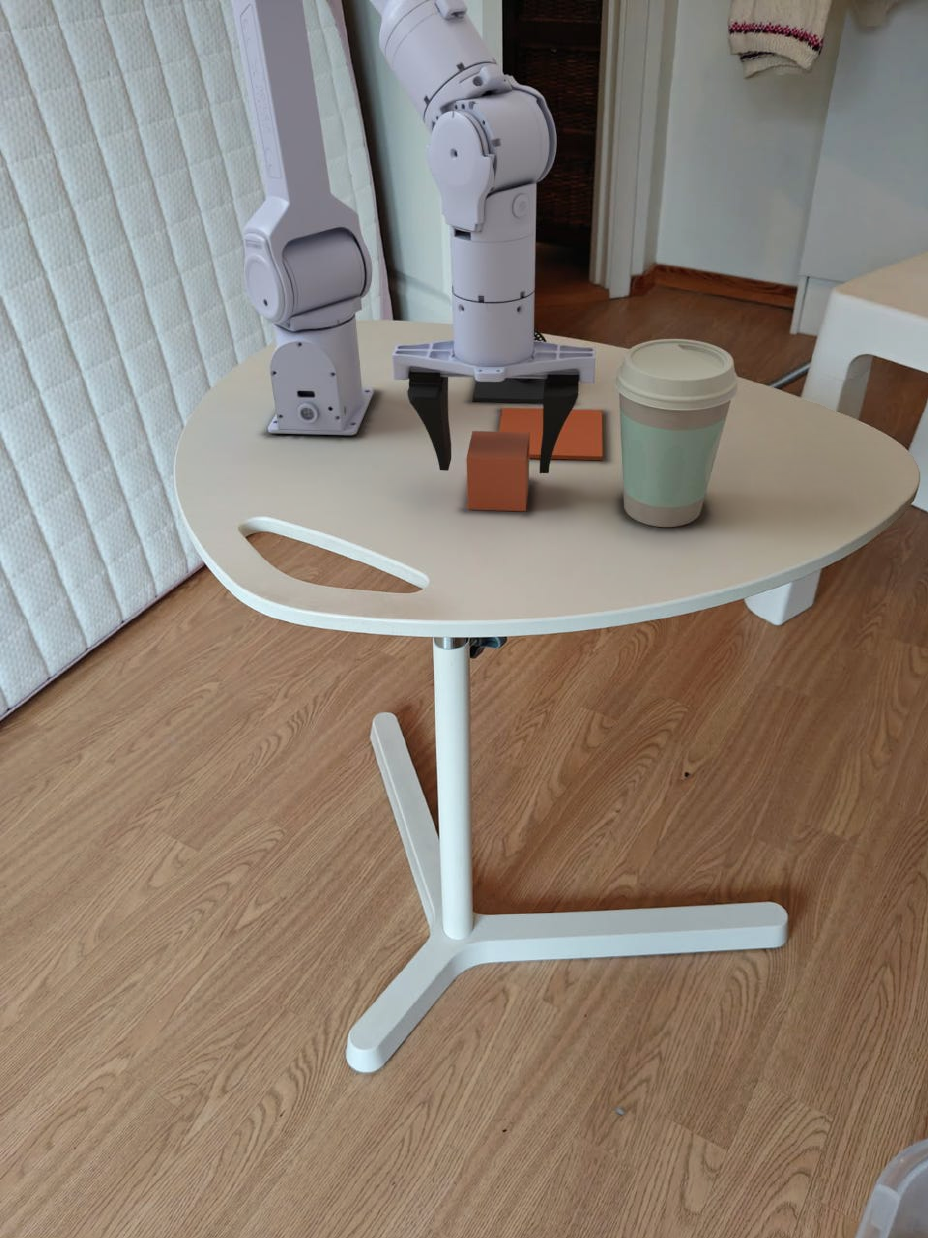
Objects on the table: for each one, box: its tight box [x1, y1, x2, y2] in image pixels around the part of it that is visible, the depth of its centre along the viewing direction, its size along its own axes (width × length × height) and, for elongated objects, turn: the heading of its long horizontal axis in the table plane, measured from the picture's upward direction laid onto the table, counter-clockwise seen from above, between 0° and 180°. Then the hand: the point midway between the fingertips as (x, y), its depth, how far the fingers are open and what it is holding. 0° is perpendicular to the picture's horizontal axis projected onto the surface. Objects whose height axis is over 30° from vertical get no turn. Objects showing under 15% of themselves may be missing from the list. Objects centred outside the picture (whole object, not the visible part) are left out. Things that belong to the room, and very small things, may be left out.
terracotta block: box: [465, 430, 530, 512], centre depth 76 cm, size 4×4×4 cm
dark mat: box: [471, 378, 545, 404], centre depth 95 cm, size 9×9×1 cm
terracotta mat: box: [498, 407, 604, 461], centre depth 86 cm, size 9×9×1 cm
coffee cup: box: [614, 338, 739, 528], centre depth 72 cm, size 8×8×12 cm
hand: (494, 465), depth 76 cm, fingers open, 7 cm apart
